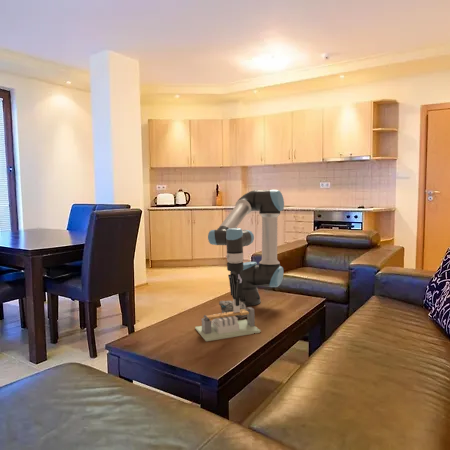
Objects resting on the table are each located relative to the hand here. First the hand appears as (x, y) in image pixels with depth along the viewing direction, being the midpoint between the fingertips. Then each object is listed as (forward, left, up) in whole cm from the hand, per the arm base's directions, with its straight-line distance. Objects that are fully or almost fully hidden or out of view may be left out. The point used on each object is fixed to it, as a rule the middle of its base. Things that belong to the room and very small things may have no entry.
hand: (236, 311), depth 180 cm
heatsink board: (0, -5, -8) cm, 10 cm away
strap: (0, -5, -1) cm, 5 cm away
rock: (-17, +5, -9) cm, 20 cm away
